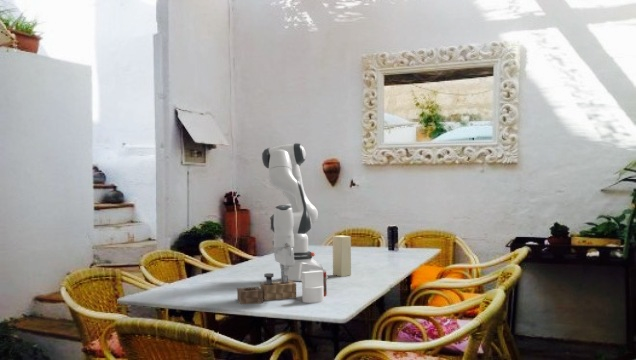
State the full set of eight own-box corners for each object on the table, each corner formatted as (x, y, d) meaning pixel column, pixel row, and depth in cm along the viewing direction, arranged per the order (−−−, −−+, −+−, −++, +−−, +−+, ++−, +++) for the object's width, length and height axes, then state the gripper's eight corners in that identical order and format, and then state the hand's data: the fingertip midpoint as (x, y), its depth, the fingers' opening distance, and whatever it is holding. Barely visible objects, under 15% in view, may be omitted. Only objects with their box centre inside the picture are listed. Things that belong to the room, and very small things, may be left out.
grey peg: (287, 295, 230) (286, 263, 230) (289, 297, 227) (288, 264, 227) (280, 296, 229) (280, 264, 229) (282, 297, 226) (281, 265, 226)
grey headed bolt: (272, 291, 228) (272, 272, 229) (274, 293, 225) (274, 274, 225) (263, 292, 227) (263, 273, 227) (265, 294, 223) (265, 274, 224)
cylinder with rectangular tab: (307, 303, 214) (306, 274, 214) (299, 299, 222) (298, 271, 222) (327, 301, 217) (326, 272, 217) (318, 297, 225) (318, 269, 226)
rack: (258, 298, 226) (258, 286, 226) (262, 302, 217) (262, 290, 217) (237, 300, 223) (237, 288, 223) (241, 304, 214) (240, 292, 215)
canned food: (320, 297, 224) (320, 272, 224) (305, 296, 228) (304, 270, 229) (330, 294, 231) (329, 269, 231) (314, 293, 235) (314, 268, 235)
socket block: (291, 294, 233) (291, 280, 233) (296, 297, 226) (296, 283, 226) (260, 296, 229) (260, 283, 229) (264, 300, 221) (264, 286, 221)
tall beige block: (352, 275, 280) (351, 236, 281) (341, 276, 276) (340, 237, 276) (343, 273, 287) (342, 235, 287) (332, 275, 283) (332, 236, 283)
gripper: (297, 244, 220) (298, 277, 219) (285, 240, 239) (285, 270, 239) (282, 245, 218) (283, 278, 217) (271, 241, 237) (272, 271, 237)
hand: (284, 274), depth 228 cm, fingers closed on grey peg, 3 cm apart
